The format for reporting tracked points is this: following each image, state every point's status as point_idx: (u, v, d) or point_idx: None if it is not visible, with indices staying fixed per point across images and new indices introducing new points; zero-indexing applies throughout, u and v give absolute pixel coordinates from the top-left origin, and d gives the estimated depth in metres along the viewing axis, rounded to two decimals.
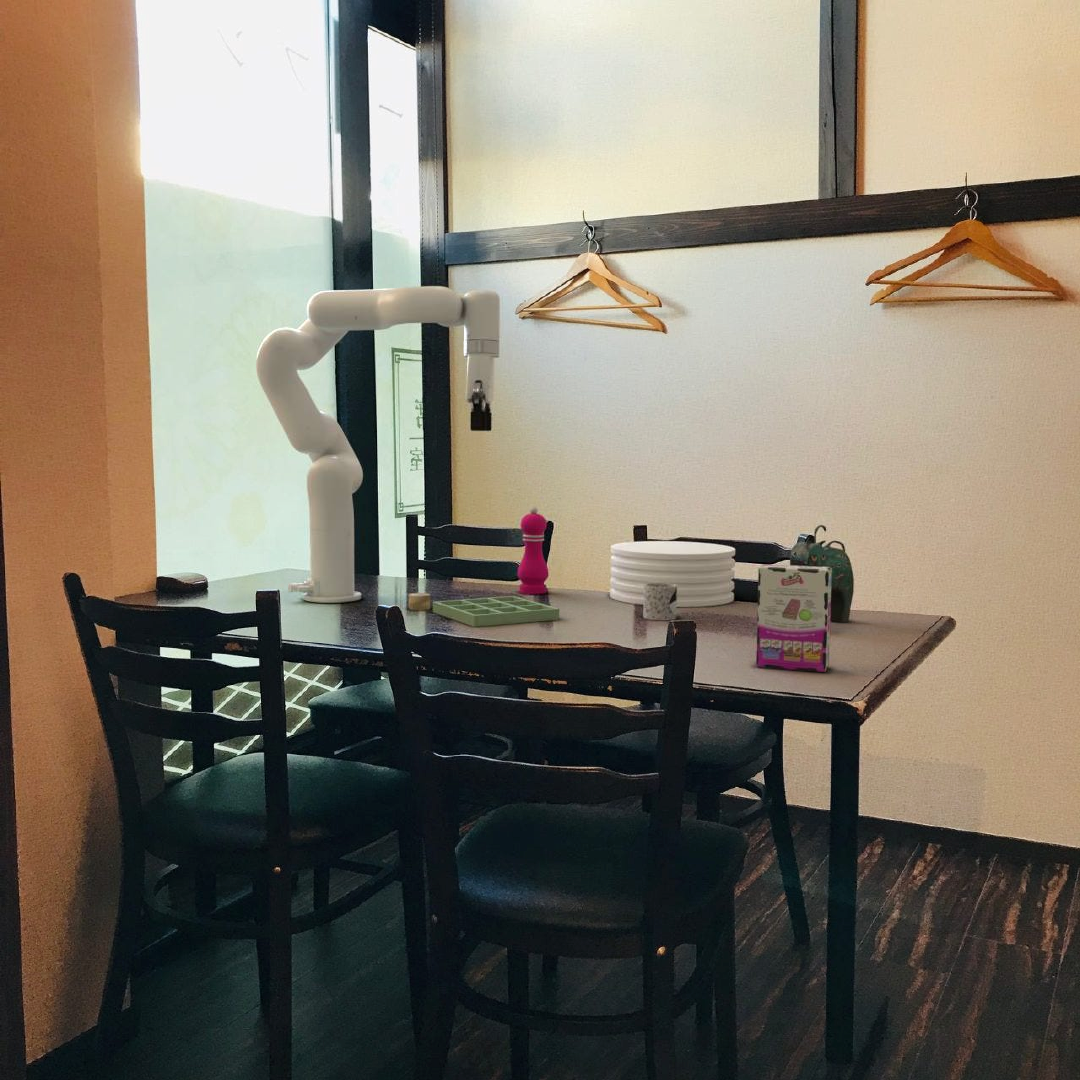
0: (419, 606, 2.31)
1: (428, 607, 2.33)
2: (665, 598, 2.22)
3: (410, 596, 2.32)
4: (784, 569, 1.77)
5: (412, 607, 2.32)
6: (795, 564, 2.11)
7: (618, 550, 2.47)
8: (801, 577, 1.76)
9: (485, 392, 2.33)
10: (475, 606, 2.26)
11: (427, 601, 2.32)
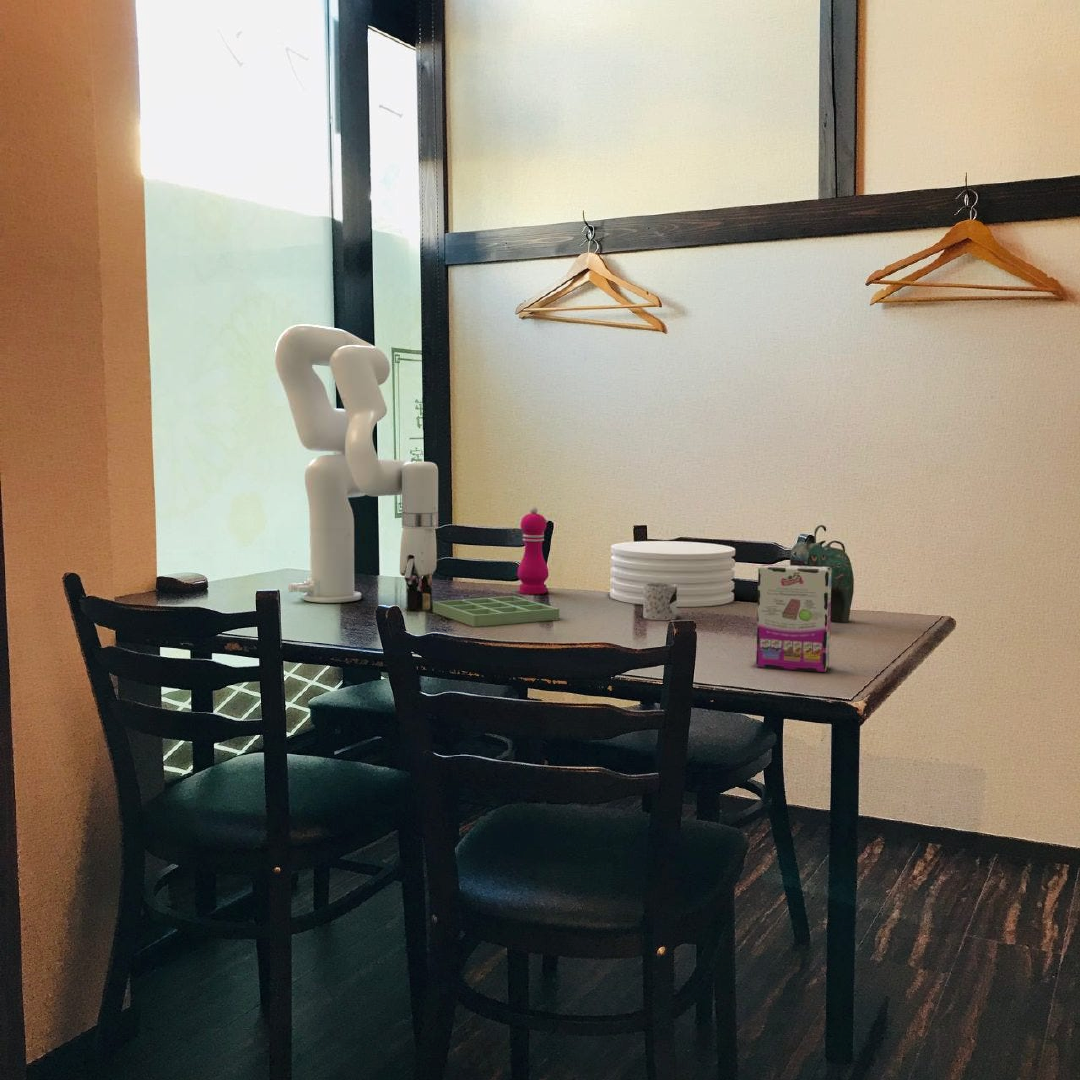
0: None
1: (428, 607, 2.33)
2: (665, 598, 2.22)
3: None
4: (784, 569, 1.77)
5: None
6: (795, 564, 2.11)
7: (618, 550, 2.47)
8: (801, 577, 1.76)
9: None
10: (475, 606, 2.26)
11: (427, 601, 2.32)
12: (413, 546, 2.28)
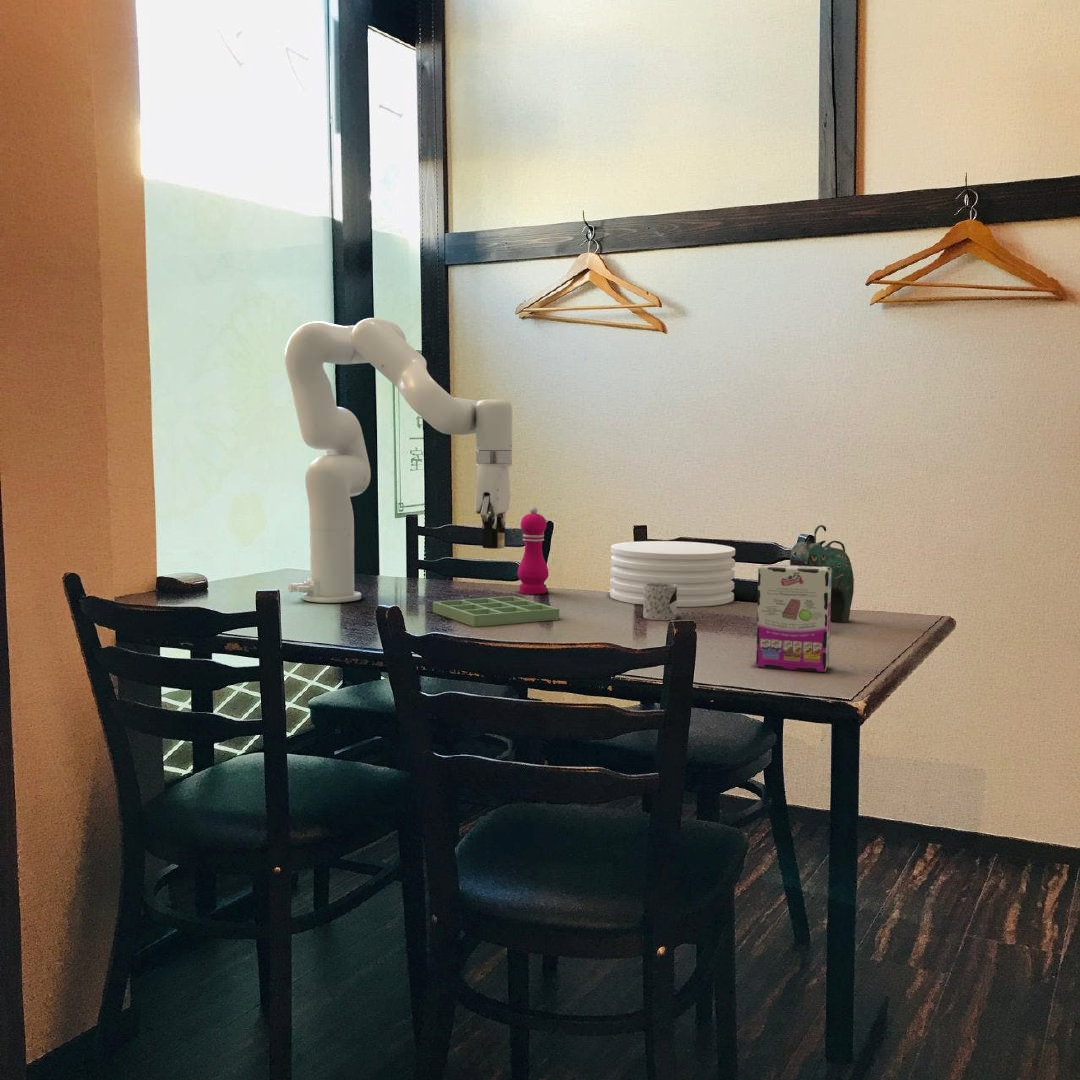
0: None
1: (503, 546, 2.32)
2: (665, 598, 2.22)
3: None
4: (784, 569, 1.77)
5: None
6: (795, 564, 2.11)
7: (618, 550, 2.47)
8: (801, 577, 1.76)
9: None
10: (475, 606, 2.26)
11: (502, 539, 2.31)
12: (489, 483, 2.27)
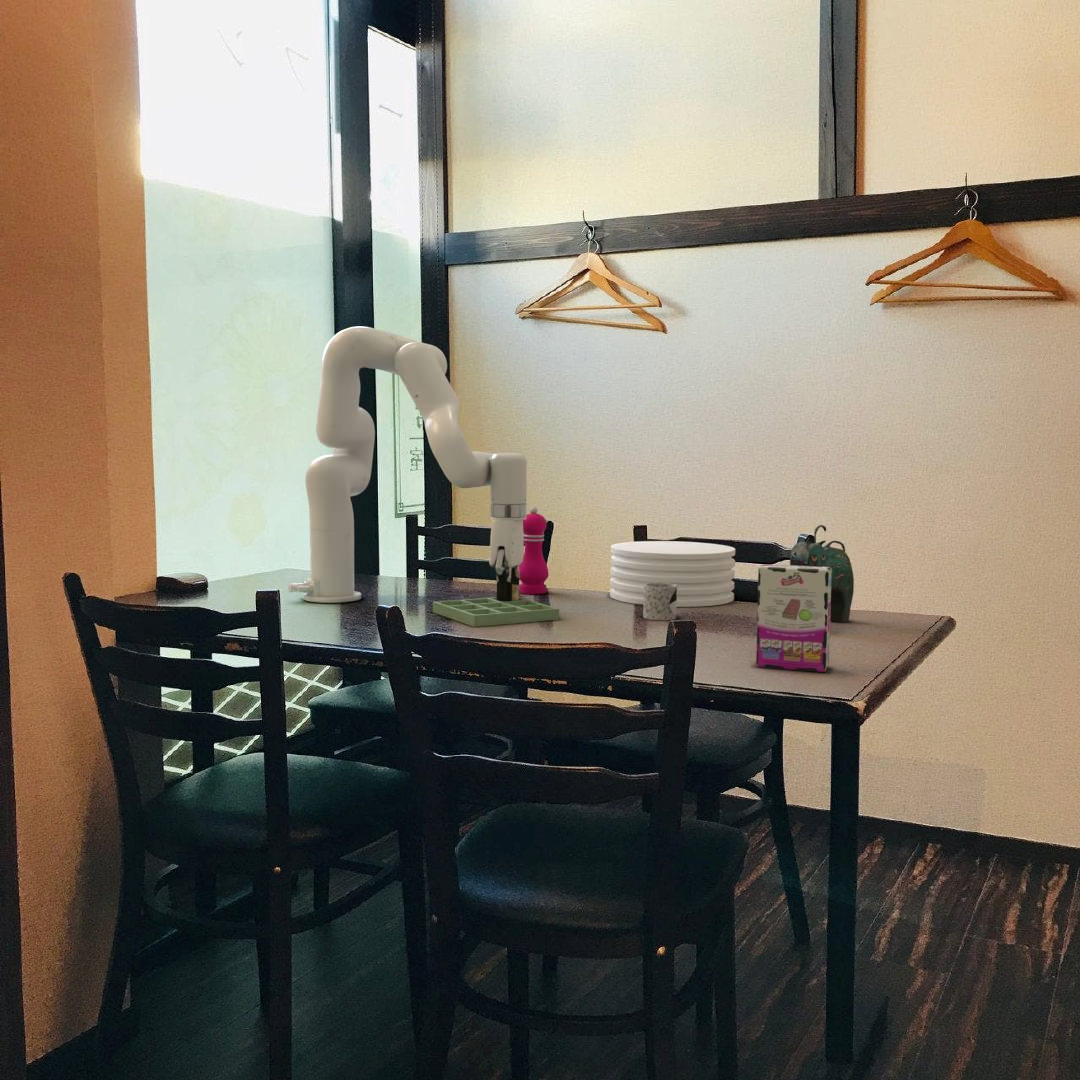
0: None
1: (517, 598, 2.33)
2: (665, 598, 2.22)
3: None
4: (784, 569, 1.77)
5: None
6: (795, 564, 2.11)
7: (618, 550, 2.47)
8: (801, 577, 1.76)
9: None
10: (475, 606, 2.26)
11: (516, 592, 2.32)
12: (503, 537, 2.28)
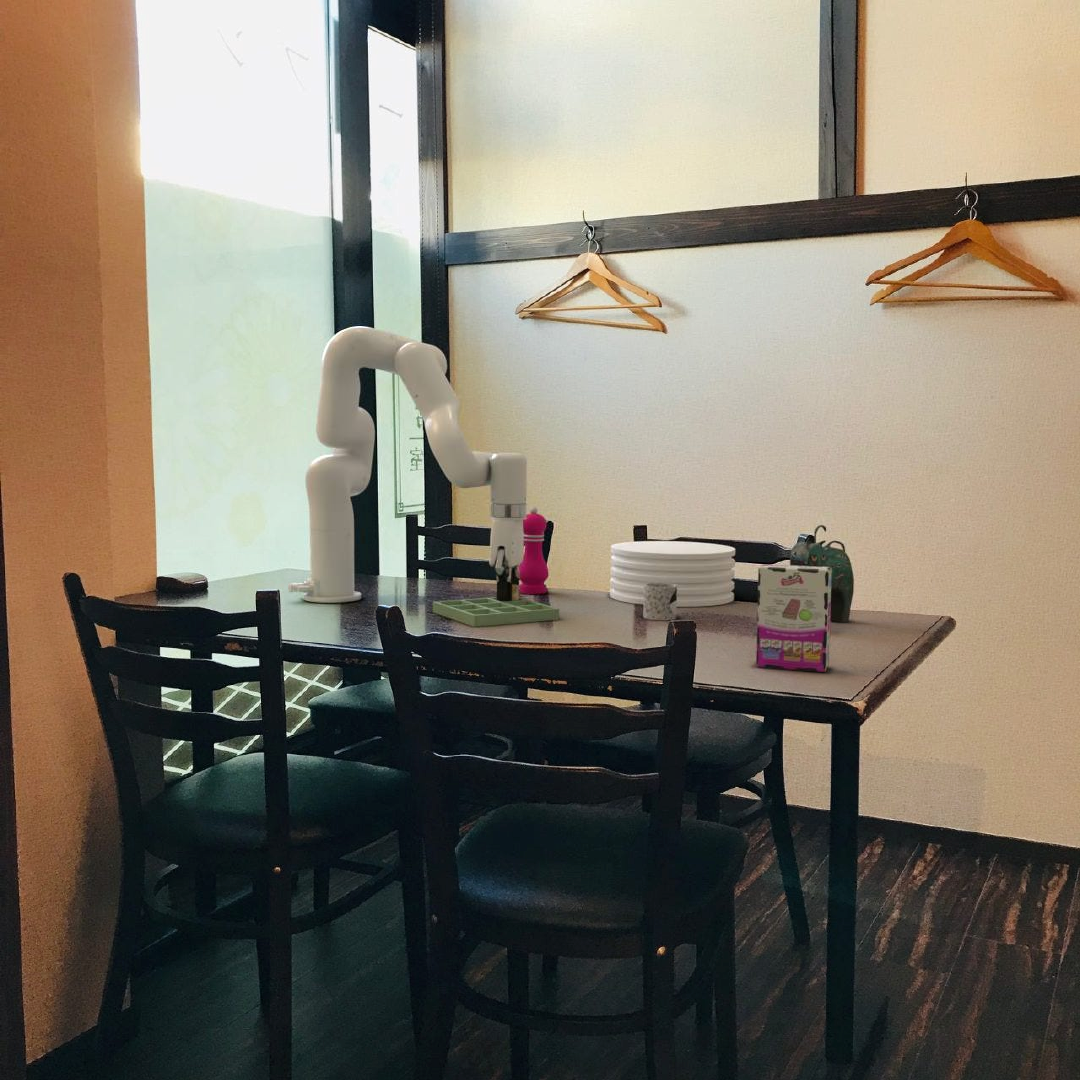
0: None
1: (517, 598, 2.33)
2: (665, 598, 2.22)
3: None
4: (784, 569, 1.77)
5: None
6: (795, 564, 2.11)
7: (618, 550, 2.47)
8: (801, 577, 1.76)
9: None
10: (475, 606, 2.26)
11: (516, 591, 2.32)
12: (503, 537, 2.28)
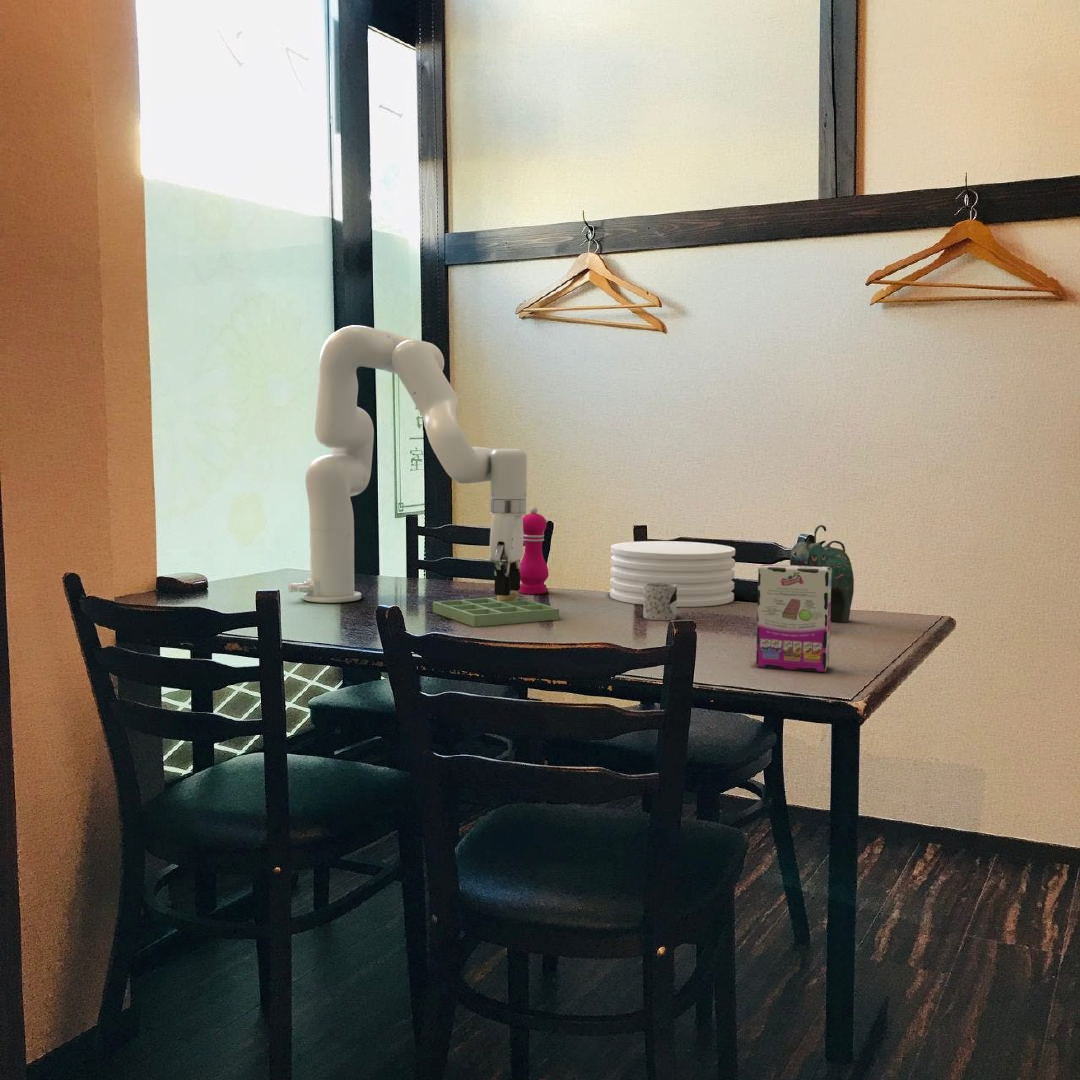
0: None
1: None
2: (665, 598, 2.22)
3: None
4: (784, 569, 1.77)
5: None
6: (795, 564, 2.11)
7: (618, 550, 2.47)
8: (801, 577, 1.76)
9: (508, 557, 2.28)
10: (475, 606, 2.26)
11: (515, 598, 2.33)
12: (503, 532, 2.28)
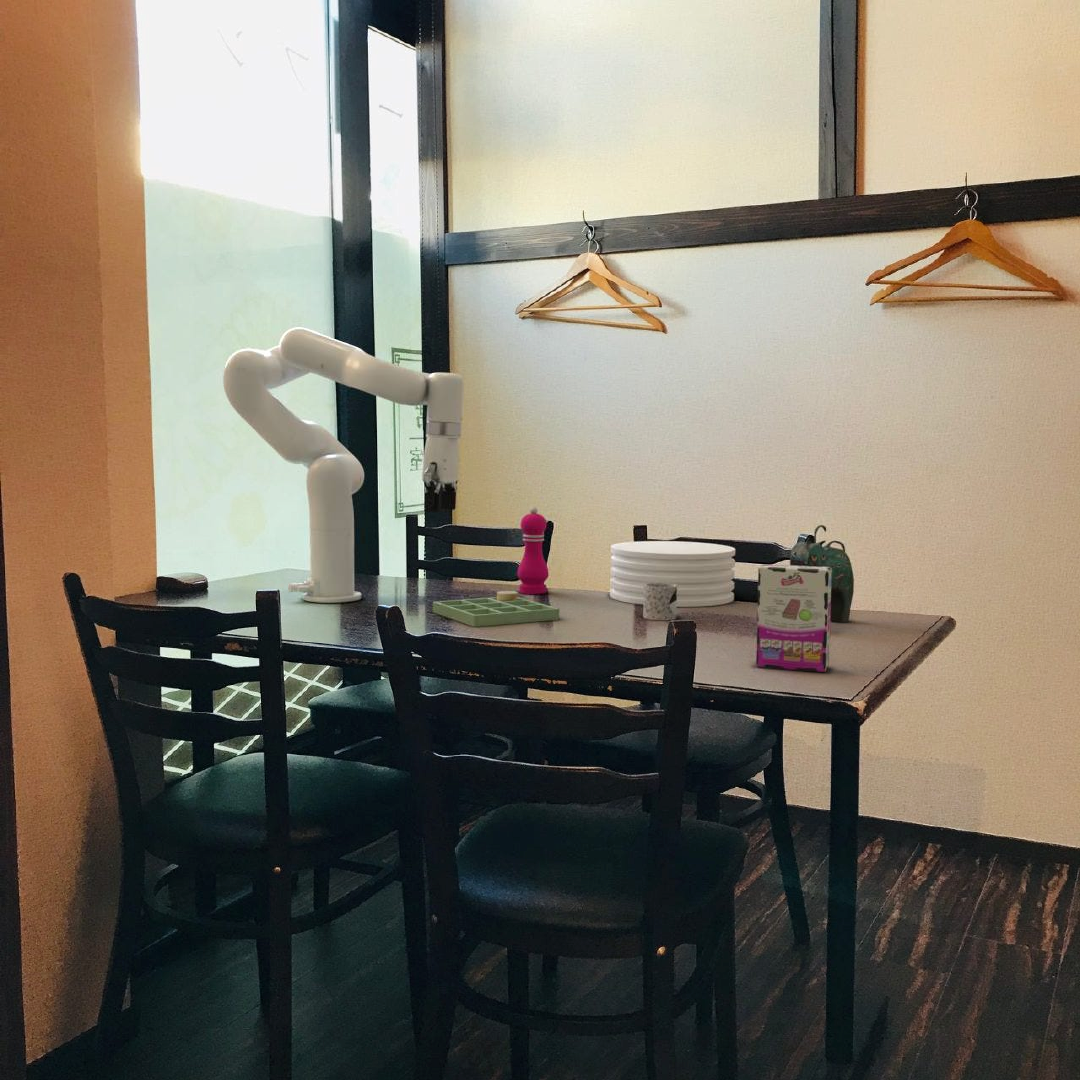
0: None
1: None
2: (665, 598, 2.22)
3: (498, 594, 2.33)
4: (784, 569, 1.77)
5: None
6: (795, 564, 2.11)
7: (618, 550, 2.47)
8: (801, 577, 1.76)
9: (440, 474, 2.34)
10: (475, 606, 2.26)
11: (515, 598, 2.33)
12: (436, 453, 2.34)
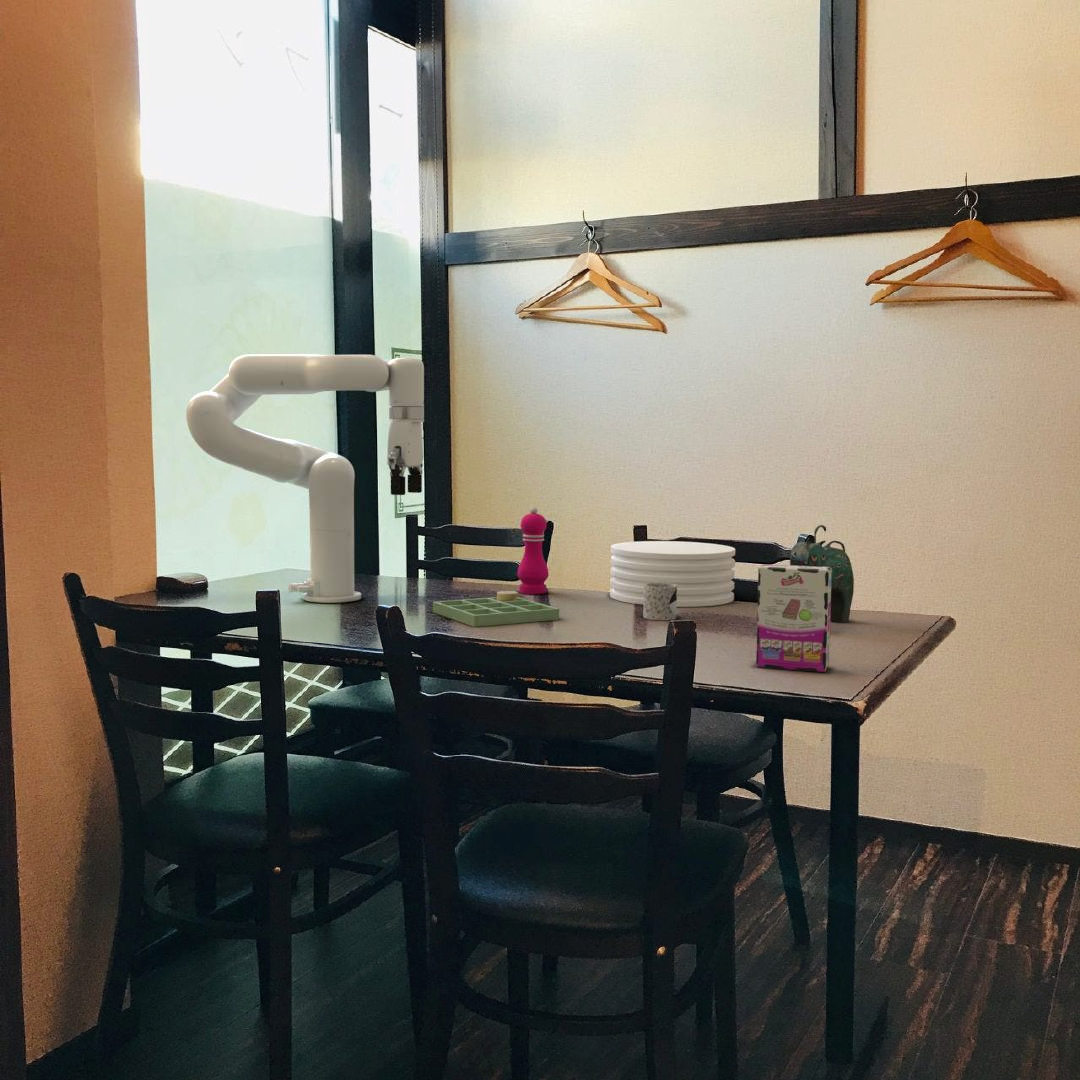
0: None
1: None
2: (665, 598, 2.22)
3: (498, 594, 2.33)
4: (784, 569, 1.77)
5: None
6: (795, 564, 2.11)
7: (618, 550, 2.47)
8: (801, 577, 1.76)
9: (404, 457, 2.39)
10: (475, 606, 2.26)
11: (515, 598, 2.33)
12: (400, 437, 2.39)
